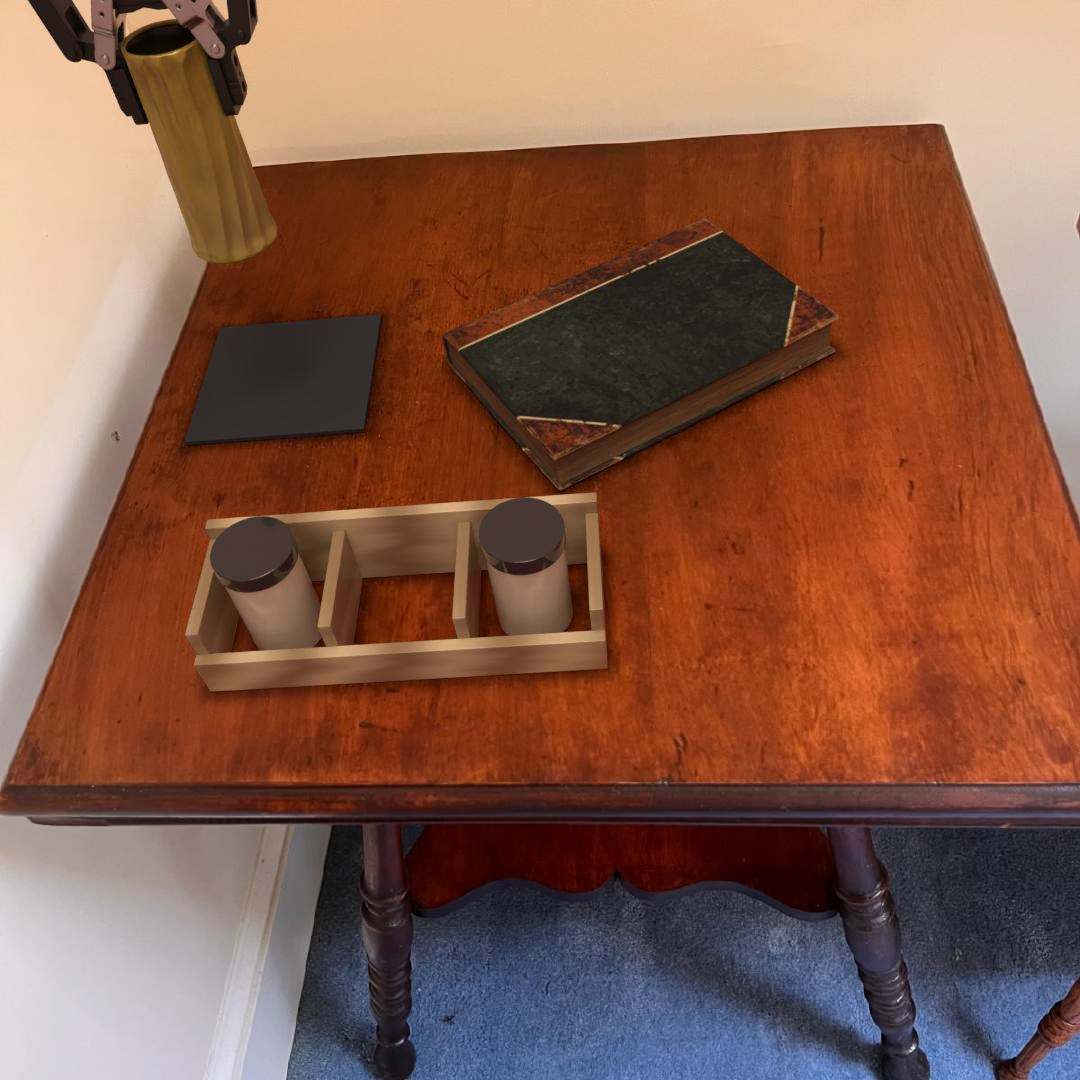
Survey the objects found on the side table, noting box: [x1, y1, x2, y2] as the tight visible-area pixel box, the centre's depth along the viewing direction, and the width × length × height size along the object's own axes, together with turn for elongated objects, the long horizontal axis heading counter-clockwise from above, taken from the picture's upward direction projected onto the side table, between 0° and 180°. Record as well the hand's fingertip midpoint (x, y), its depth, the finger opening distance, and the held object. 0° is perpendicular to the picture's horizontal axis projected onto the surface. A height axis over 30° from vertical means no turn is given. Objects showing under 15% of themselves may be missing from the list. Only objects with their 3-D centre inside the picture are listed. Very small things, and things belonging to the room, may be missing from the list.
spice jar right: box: [479, 496, 574, 636], centre depth 63 cm, size 5×5×8 cm
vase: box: [121, 18, 279, 265], centre depth 68 cm, size 6×6×14 cm
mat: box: [184, 313, 383, 446], centre depth 83 cm, size 14×14×1 cm
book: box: [441, 218, 840, 492], centre depth 80 cm, size 17×4×25 cm
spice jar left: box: [210, 515, 323, 651], centre depth 64 cm, size 5×5×8 cm
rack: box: [184, 491, 609, 692], centre depth 64 cm, size 25×9×6 cm, turn 90°
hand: (189, 113), depth 66 cm, fingers closed on vase, 5 cm apart
